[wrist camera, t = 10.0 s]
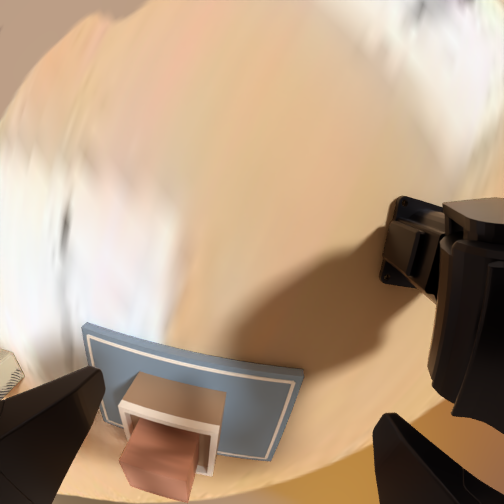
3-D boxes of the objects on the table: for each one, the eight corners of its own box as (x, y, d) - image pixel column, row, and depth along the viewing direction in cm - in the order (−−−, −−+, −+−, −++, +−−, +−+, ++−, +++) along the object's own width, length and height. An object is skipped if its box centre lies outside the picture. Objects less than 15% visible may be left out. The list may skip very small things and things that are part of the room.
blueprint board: (303, 369, 22) (309, 419, 16) (270, 454, 25) (269, 494, 20) (86, 322, 22) (51, 353, 16) (107, 416, 26) (87, 447, 20)
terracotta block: (199, 432, 18) (186, 481, 13) (198, 460, 19) (187, 502, 15) (140, 416, 18) (118, 460, 13) (146, 447, 20) (130, 485, 15)
